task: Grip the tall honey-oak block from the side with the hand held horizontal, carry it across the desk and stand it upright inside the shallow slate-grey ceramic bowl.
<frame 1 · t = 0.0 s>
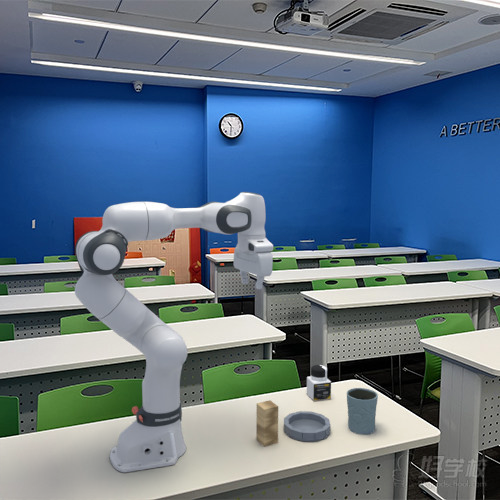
hand: (251, 286, 158), 48 cm above the table, tool pointing down, fingers open, 8 cm apart
blue-grey cup: (361, 428, 163), on the table
oak block: (267, 441, 155), on the table
bowl: (306, 430, 162), on the table
medicine bottle: (318, 397, 188), on the table
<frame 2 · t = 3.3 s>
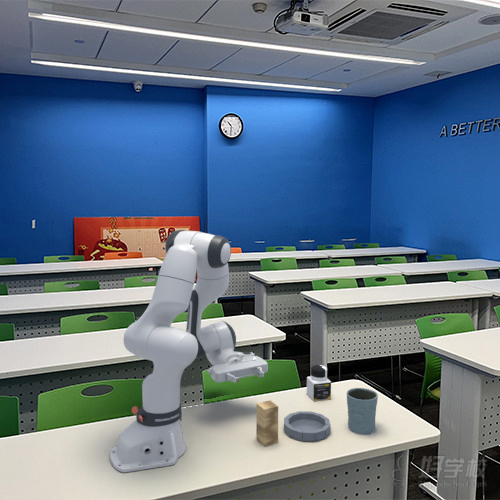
hand: (249, 377, 164), 17 cm above the table, tool horizontal, fingers open, 8 cm apart
nothing on the table moved.
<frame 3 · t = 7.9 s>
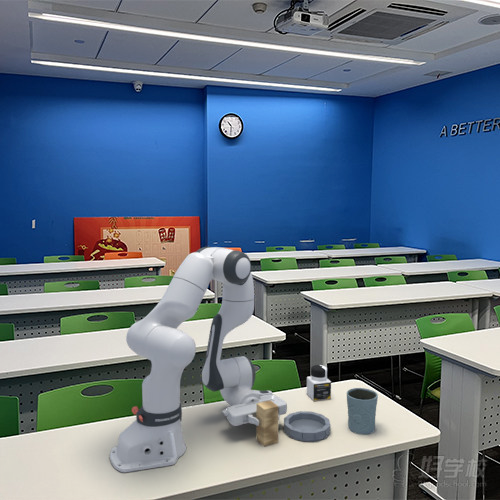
hand: (268, 421, 153), 7 cm above the table, tool horizontal, fingers closed on oak block, 5 cm apart
oak block: (267, 441, 155), on the table, touching gripper
everything else where it was.
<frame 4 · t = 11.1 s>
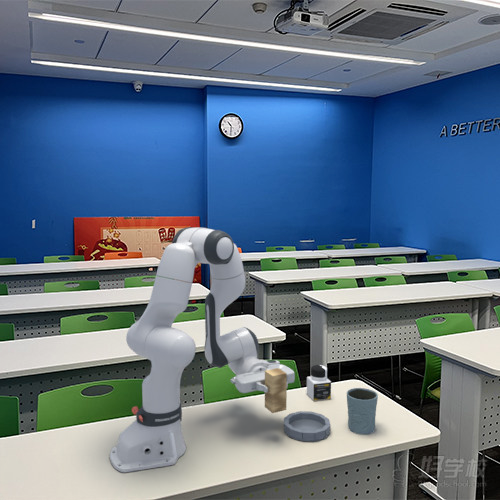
hand: (277, 388, 154), 17 cm above the table, tool horizontal, fingers closed on oak block, 5 cm apart
oak block: (275, 408, 155), point 10 cm above the table, touching gripper
everything else where it was.
when the fingers open (9 cm above the table, at t = 14.5 s): oak block drops 1 cm, resting on bowl.
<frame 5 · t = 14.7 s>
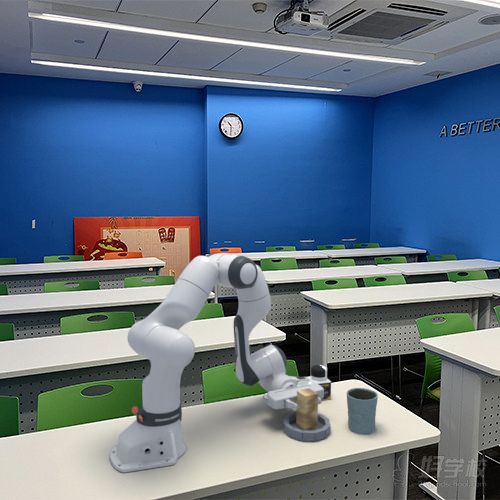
hand: (308, 404, 160), 9 cm above the table, tool horizontal, fingers open, 7 cm apart
oak block: (306, 427, 162), point 1 cm above the table, touching bowl
everything else where it was.
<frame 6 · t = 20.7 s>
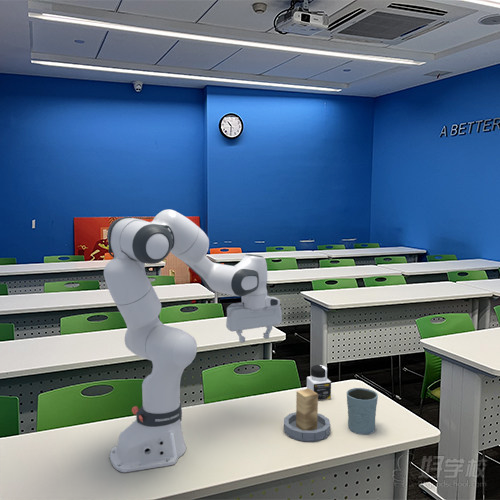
hand: (254, 340, 170), 27 cm above the table, tool pointing down, fingers open, 8 cm apart
nothing on the table moved.
at the end: oak block inside the target area on the bowl (0.1 cm from its centre), point 1.0 cm above the bowl's base; oak block tilted 0°; the gripper is holding nothing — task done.
